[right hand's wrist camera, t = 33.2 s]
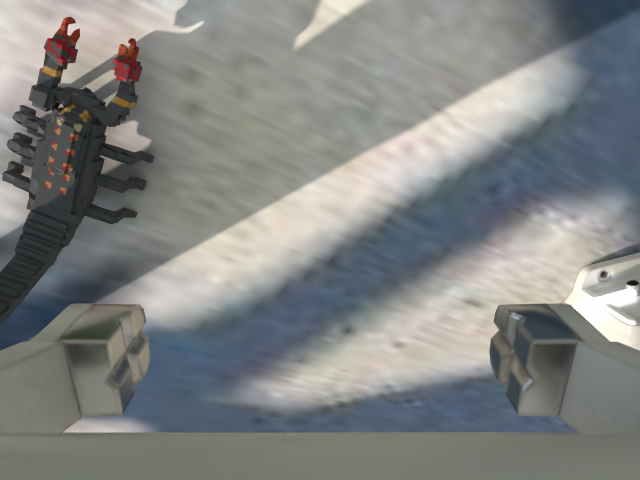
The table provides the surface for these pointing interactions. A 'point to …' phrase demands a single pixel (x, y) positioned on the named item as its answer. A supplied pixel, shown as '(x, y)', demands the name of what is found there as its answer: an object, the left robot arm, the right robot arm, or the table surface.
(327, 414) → the table surface
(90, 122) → the toy
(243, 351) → the table surface
